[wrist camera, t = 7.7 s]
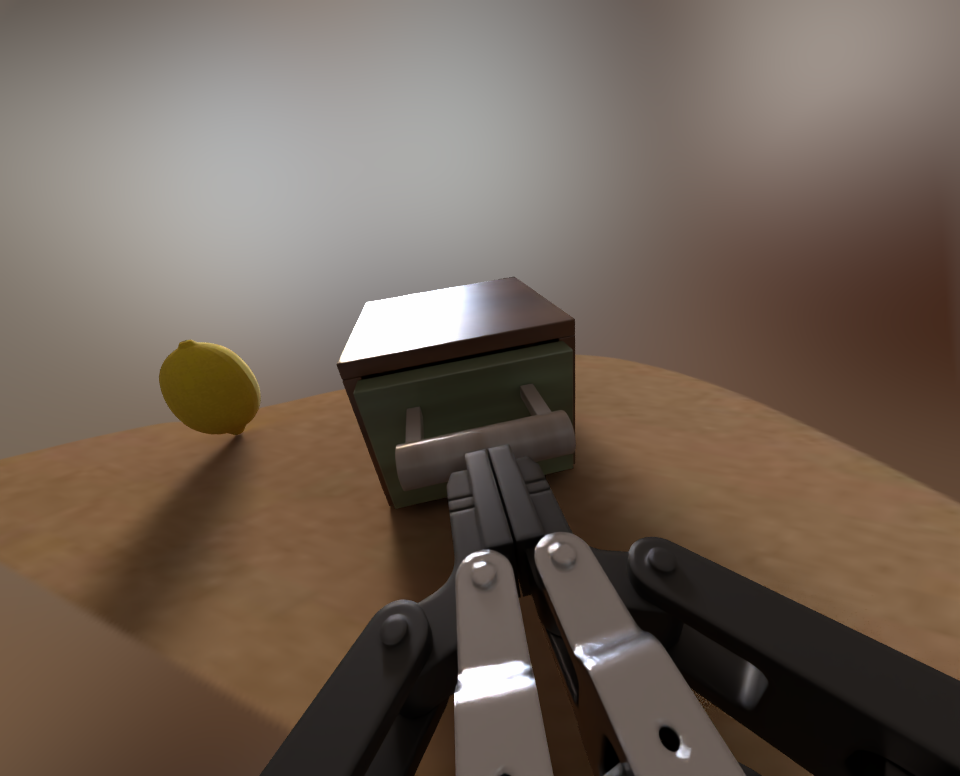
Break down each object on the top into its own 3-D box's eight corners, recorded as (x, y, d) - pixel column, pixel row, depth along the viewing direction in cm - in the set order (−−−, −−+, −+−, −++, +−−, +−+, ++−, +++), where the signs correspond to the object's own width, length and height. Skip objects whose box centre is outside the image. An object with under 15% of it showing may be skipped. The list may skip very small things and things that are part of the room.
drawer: (614, 535, 14) (626, 397, 11) (390, 591, 14) (330, 460, 10) (523, 386, 26) (515, 297, 23) (400, 411, 26) (375, 323, 22)
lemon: (242, 412, 31) (194, 327, 27) (291, 415, 29) (247, 325, 25) (181, 453, 26) (113, 357, 22) (235, 459, 25) (171, 357, 21)
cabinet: (575, 464, 20) (575, 318, 15) (389, 506, 19) (335, 364, 15) (523, 381, 29) (514, 276, 25) (397, 407, 28) (365, 302, 24)
